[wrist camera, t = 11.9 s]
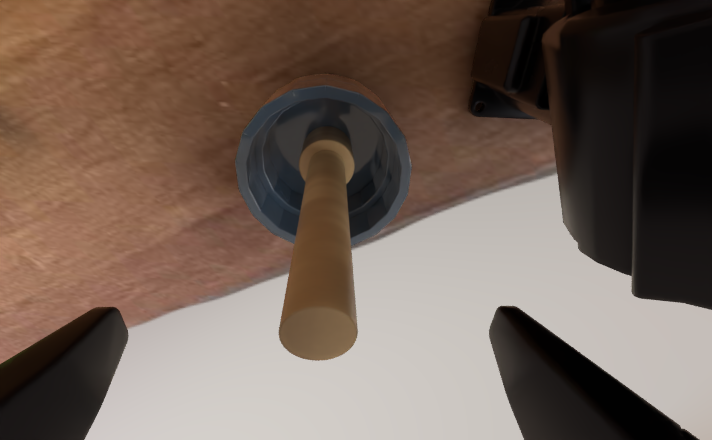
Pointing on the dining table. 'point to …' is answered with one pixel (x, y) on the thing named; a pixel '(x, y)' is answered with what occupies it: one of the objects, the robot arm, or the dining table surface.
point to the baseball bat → (322, 254)
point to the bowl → (284, 145)
